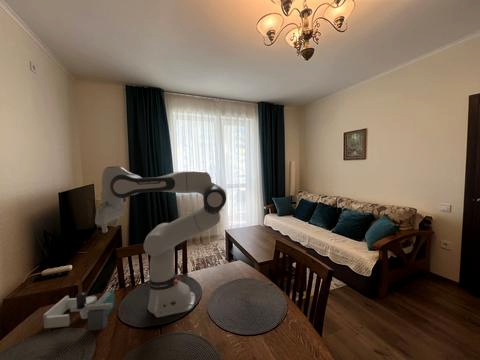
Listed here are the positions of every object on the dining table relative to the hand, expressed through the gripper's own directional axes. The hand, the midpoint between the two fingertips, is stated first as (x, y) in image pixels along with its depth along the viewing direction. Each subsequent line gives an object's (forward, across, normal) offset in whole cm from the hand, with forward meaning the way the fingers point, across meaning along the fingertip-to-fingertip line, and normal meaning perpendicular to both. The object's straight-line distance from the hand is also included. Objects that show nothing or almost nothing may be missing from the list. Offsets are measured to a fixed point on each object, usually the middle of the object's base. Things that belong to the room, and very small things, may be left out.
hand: (110, 229), depth 99 cm
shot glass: (+40, -3, +6) cm, 40 cm away
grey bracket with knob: (+39, -6, -1) cm, 39 cm away
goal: (+41, -3, +15) cm, 43 cm away
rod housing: (+39, -12, -3) cm, 41 cm away
